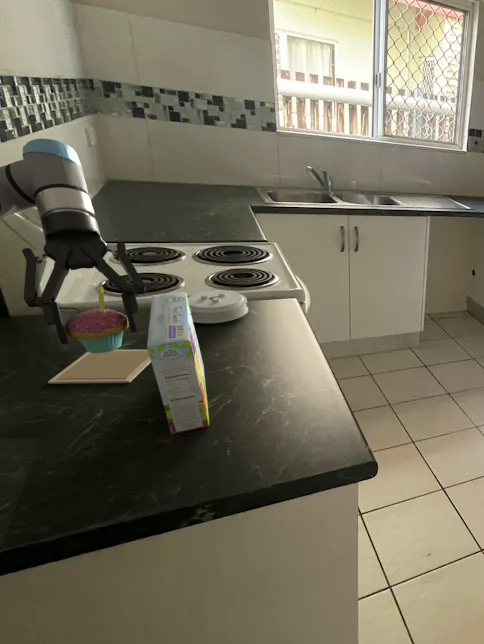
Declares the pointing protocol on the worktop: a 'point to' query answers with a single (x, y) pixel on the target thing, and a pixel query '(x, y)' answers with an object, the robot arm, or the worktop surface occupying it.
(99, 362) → the tan square board
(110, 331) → the cupcake
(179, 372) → the snack box
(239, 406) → the worktop surface
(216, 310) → the lid
